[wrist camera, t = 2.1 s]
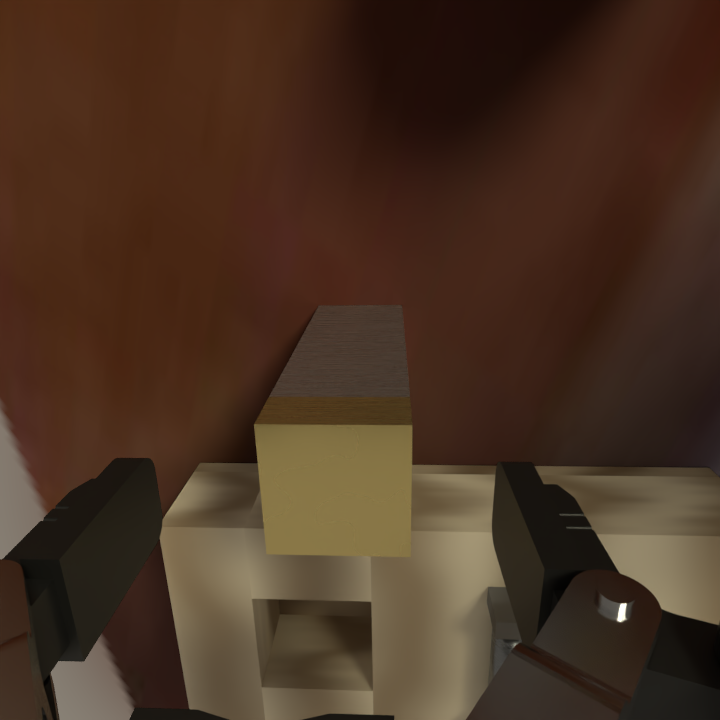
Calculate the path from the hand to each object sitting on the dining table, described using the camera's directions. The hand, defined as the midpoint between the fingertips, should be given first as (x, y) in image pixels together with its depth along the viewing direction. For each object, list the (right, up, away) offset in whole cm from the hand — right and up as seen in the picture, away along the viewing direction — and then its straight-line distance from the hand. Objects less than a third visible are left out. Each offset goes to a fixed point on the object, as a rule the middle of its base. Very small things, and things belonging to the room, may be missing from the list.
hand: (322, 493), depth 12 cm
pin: (+1, +4, +11) cm, 12 cm away
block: (+5, -8, +15) cm, 17 cm away
